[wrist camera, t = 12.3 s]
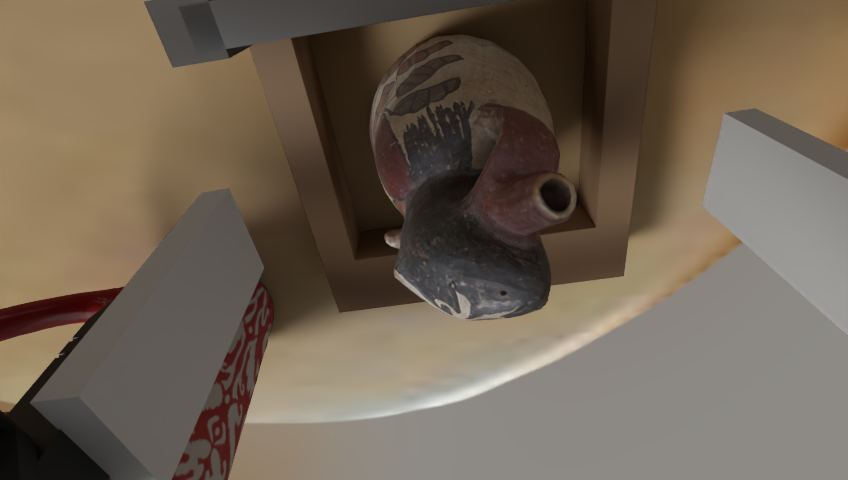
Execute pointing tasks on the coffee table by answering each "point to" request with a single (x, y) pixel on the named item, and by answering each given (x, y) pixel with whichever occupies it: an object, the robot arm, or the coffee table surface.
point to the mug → (231, 392)
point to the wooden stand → (318, 153)
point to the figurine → (469, 177)
